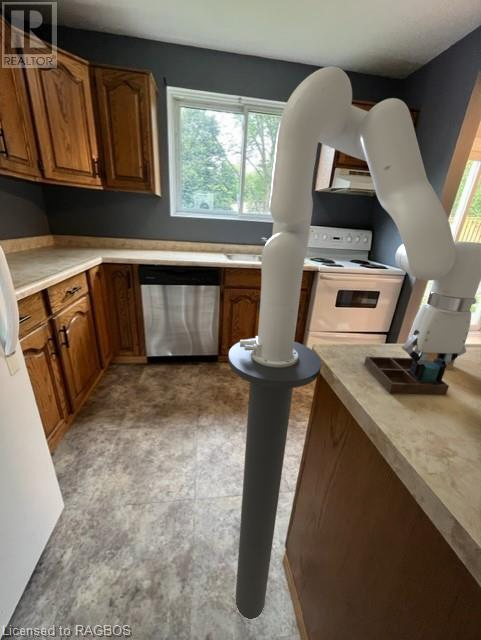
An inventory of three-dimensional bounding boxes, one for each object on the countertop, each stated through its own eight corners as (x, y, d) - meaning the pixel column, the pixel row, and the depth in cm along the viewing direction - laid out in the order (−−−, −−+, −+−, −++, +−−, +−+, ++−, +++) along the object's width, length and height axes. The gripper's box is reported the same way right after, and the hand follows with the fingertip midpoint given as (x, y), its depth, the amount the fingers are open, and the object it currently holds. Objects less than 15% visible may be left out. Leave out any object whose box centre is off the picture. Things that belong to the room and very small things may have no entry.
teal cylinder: (421, 382, 62) (426, 368, 60) (410, 372, 65) (414, 359, 64) (440, 382, 62) (444, 369, 60) (427, 373, 66) (432, 360, 64)
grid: (389, 393, 61) (392, 384, 60) (364, 364, 73) (365, 356, 72) (445, 395, 61) (449, 385, 60) (411, 366, 74) (413, 358, 73)
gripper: (473, 299, 61) (448, 369, 67) (399, 296, 61) (381, 367, 67) (503, 309, 54) (472, 387, 60) (421, 306, 53) (398, 385, 60)
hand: (425, 376), depth 63 cm, fingers closed on teal cylinder, 4 cm apart
